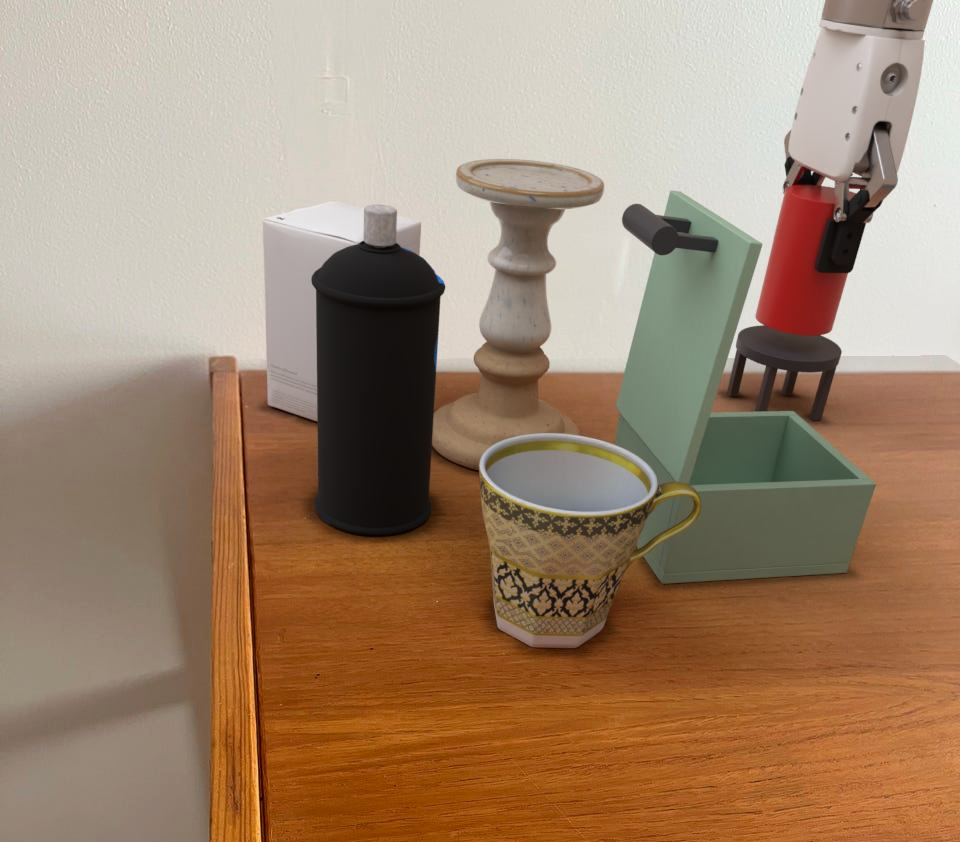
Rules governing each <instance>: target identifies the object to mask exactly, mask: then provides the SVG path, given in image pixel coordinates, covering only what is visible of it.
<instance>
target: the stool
mask: <svg viewBox="0 0 960 842" xmlns="http://www.w3.org/2000/svg"><path fill="white" fill-rule="evenodd" d="M735 349H736V351H735V354H734V355H735V356H734V359H733V364H732V368H731V372H730V376H729V380H728V381H729V383H728V385H727V389H726V395H727V396H728V397H730V398H733V397H734V398H735V397H739V392H740V389H741V384H742V380H743V376H744V372H745V368H746V363H747V359H748V360H750V361H752V362H754V363H757V364H760V365H762V366H765V367H764V371H763V375H762V379H761V383H760V387H759V392H758V397H757V400H756V403H755V404H756V405H755V408H754V412H763V411H768V408H769V405H770V401H771V398H772V393H773V390H774V385H775V382H776V377H777V375H778V370H781V371H786V373H785V376H784V380H783V381H784V382H783V385H782V389H781V394H782V395H783V396H785V397H788V396H789V397H791V396H793V393H794V389H795V386H796V383H797V379H798V374H799V373H821V375H820V378H819V381H818V385H817V390H816V393H815V397H814V400H813V403H812V407H811V410H810V414H809V418H810V419H811V420H812V421H822V419H823V415H824V411H825V408H826V405H827V401H828V397H829V394H830V391H831V387H832V384H833V380H834V378H835V373H836V371H837V367H838V366H839V364H840V360H841V356H842V352H843V351H842V348H841V347H840V346H839V344H837V343H836V342H835V341H833V340H832V339H830V338H828V337H826V336H823V335H816V336H806V335H796V334H790V333H785V332H781V331H777V330H774V329H772V328H769V327H767V326H765V325H763V324H761V325H754V326H753V325H752V326H748V327H745V328H742V329H741V330H740V331H738V334H737V337H736V343H735Z"/></svg>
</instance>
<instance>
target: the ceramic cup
mask: <svg viewBox="0 0 960 842" xmlns="http://www.w3.org/2000/svg"><path fill="white" fill-rule="evenodd" d="M478 475H479V477H478V478H479V479H478V481H479V492H480V502H481V512H482V518H483V522H484V528H485V531H486V535H487V539H488V540H487V541H488V549H489V559H490V561H489V562H490V572H491V587H492V589H491V590H492V598H493V606H494V614H495V620H496V625H497V628H498V629H499V630H500V631H502V632H504V633H506V634H507V635H509V636H511V637H512V638H515V639H517V640H518V641H520V642H522V643H523V644H525V645H528V646H530V647H531V648H548V649H549V648H551V649H552V648H553V649H554V648H555V649H577V648H578V647H580V646H581V645H583V644H584V643H586V642H587V641H589V640H590V639H592V638H593V637H595V636H596V635H598V633H600V632H601V631H602V630H603V628H604V627H605V624H606V621H607V619H608V615H609V612H610V610H611V608H612V605H613V602H614V599H615V597H616V596H617V595H616V594H617V592H618V590H619V588H620V585H621V582H622V580H623V577H624V575H625V573H626V571H627V570H628V569H629V567H630V566H631V565H632V564H634V563H635V562H636V561H637V560H638V559H641V558H642V557H643V556H644V555H646V554H648V553H649V552H650V551H651V550H653V549H654V548H655V547H656V546H657V545H659V544H660V543H662V542H663V541H665V540H667V539H669V538H671V537H672V536H674V535H676V534H678V533H680V532H682V531H683V530H685V529H686V528H688V527H689V526H690V525H691V524H692V523H693V522H694V521H695V520H696V519H697V517H698V516H699V514H700V511H701V500H700V497H699V494H698V493H697V491H696V490H695V489H694V488H693V487H691V486H690V485H688V484H685V483H680V482H668V483H664V484H661V485H659V486H658V480H657V477H656V474H655V472H654V471H653V470H652V468H651V467H650V466H649V465H648V464H647V463H646V462H645V461H644V460H642V459H641V458H640V457H638V456H637V455H635V454H633V453H632V452H630V451H628V450H626V449H624V448H621V447H619V446H617V445H614V443H611V442H608V441H605V440H601V439H598V438H594V437H589V436H584V435H580V436H578V435H572V434H561V433H536V434H526V435H521V436H516V437H512V438H508V439H505V440H503V441H500V442H498V443H496V444H494V445H492V446H491V447H489V448H488V449H487V450H486V451H485V452H484V453H483V455H482V456H481V458H480V461H479V470H478ZM677 496H689V497H691V498H693V501H694V508H693V511H692V512H691V514H690V515H689V516H688V517H687V518H686V519H685V520H683V521H682V522H680V523H679V524H677V525H675V526H673V527H671V528H669V529H667V530H666V531H664V532H662V533H660V534H659V535H657V536H655V537H654V538H653V539H651V540H650V541H649V542H648V543H647V544H646V545H644V546H643V547H641V548H640V549H638V548H637V547H636V544H637V542H638V539H639V536H640V534H641V532H642V530H643V527H644V525H645V523H646V521H647V518H648V516H649V515H650V514H651V513H652V512H653V510H654V509H655V507H656V506H657V505H658V504H660V503H662V502H663V501H665V500H668V499H671V498H674V497H677ZM636 548H637V549H636ZM643 558H644V557H643Z"/></svg>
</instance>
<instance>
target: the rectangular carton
mask: <svg viewBox="0 0 960 842" xmlns="http://www.w3.org/2000/svg"><path fill="white" fill-rule="evenodd" d="M364 208H365V207H362V206H358V205H355V204H349V203H345V202H341V201H336V200H331V201H326V202H323V203H319V204H316V205H312V206H307V207H301V208H297V209H293V210H291V211H287V212H284V213H280V214H276V215H272V216H268V217H265V218H263V219H262V243H263V245H262V247H263V278H264V305H265V306H264V311H265V313H264V314H265V315H264V316H265V348H266V349H265V350H266V353H265V354H266V382H267V385H266V386H267V388H266V389H267V406H270V407H273V408H276V409H278V410H282V411H285V412H287V413H291V414H293V415H297V416H299V417H303V418H306V419H309V420H311V421H314V422H317V337H316V289H315V288H314V286H313V285H312V281H311V278H312V275H313V274H314V272H315V271H316V270H318V269H319V268H321V267H322V265H323V264H324V262H326V261H327V260H328V259H329V258H330V257H331V256H332V255H333V254H334V253H335V252H337V251H339V250H342V249H344V248H346V247H349V246H352V245H357V244H359V243H360V242H362V241H364ZM421 235H422V221H420V220H415V219H414V218H413V219H412V218H409V217H406V216H401V215H397V227H396V243H397V244H399V245H400V246H401V247H403V248H406V249H408V250H411V251H412V252H414V253H416V254H417V255H419V256H421V254H420V253H421V252H420V251H421Z"/></svg>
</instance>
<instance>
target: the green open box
mask: <svg viewBox="0 0 960 842" xmlns="http://www.w3.org/2000/svg"><path fill="white" fill-rule="evenodd" d="M616 426H617V427H616V433H615V438H614V443H613V444H614V445H617V446H619V447H621V448H624V449H626V450H628V451H630V452H632V453H633V454H635V455H637V456H638V457H640V458H641V459H642V460H644V461H645V462H646V463H647V464H648V465H649V466H650V467H651V468H652V470H653V471H654V472H655V474H656V477H657V480H658V486H659V485H661V484H664V483H668V482H676V481H675V480H674V479H673V477H672V476H671V475H670V474H669V473H668V471H667V470H666V469H665V468H664V466H663V465H662V464H661V463H660V461H659V460H658V459H657V458H656V457H655V455H654V454H653V453H652V452H651V450H650V449H649V448H648V447H647V446H646V444H645V443H644V442H643V441H642V439H641V438H640V437H639V436H638V434H637V433H636V432H635V431H634V430H633V428H632V427H631V426H630V425H629V423H628V422H627V421H626V420H625V418H624V417H623V416H622V415H621V414H620V413H619V415H618V420H617V425H616ZM688 485H690V486H691V487H693V488H694V489H695V490H696V491H697V493H698V494H699V497H700V500H701V511H700V514H699V516H698V517H697V519H696V520H695V521H694V522H693V523H692V524H691V525H690V526H689V527H688V528H686V529H685V530H683V531H682V532H680V533H678V534H676V535H674V536H672V537H671V538H669V539H667V540H665V541H663V542H662V543H660V544H659V545H657V546H656V547H655V548H654V549H653V550H651V551H650V552H649V553H648V554H646V555H644V556H643V558H644V560H645V561H646V563H647V564H648V566H649V567H650V569H651V570H652V572H653V573H654V575H655V576H656V577H657V579H658V580H659V582H660V584H662V585H666V584H683V583H701V582H703V583H704V582H719V581H736V580H749V579H767V578H783V577H800V576H801V577H802V576H817V575H833V574H846V573H848V569H849V567H850V563H851V560H852V558H853V554H854V552H855V549H856V545H857V543H858V541H859V540H858V539H859V538H860V537H859V536H860V534H861V531H862V528H863V525H864V522H865V520H866V517H867V513H868V510H869V508H870V504H871V501H872V498H873V495H874V492H875V489H876V487H877V483H876V482H875V481H874V480H873V479H871V478H870V477H869V476H868V474H866V473H865V472H863V470H861V469H860V468H859V467H858V466H857V465H856V464H855V463H854V462H852V460H850V459H849V458H848V457H846V456H845V455H844V453H842V452H841V451H840V450H838V448H836V447H835V446H834V445H833V444H832V443H831V442H830V441H828V440H827V439H826V437H824V436H823V435H822V434H820V433H819V432H818V431H817V430H816V429H815V428H814V427H812V426H811V425H810V424H809V423H808V422H807V421H806V420H804V419H803V417H801V416H800V415H799V414H797V413H796V412H795V411H794V410H774V411H773V410H772V411H771V410H770V411H769V410H767V411H763V412H755V411H722V412H721V411H720V412H719V411H717V412H715V411H714V412H712V411H711V413H710V417H709V420H708V423H707V426H706V430H705V433H704V436H703V439H702V443H701V446H700V449H699V452H698V456H697V459H696V462H695V465H694V469H693V472H692V475H691V478H690V482H689V484H688ZM693 508H694V501H693V498H691V497H689V496H677V497H674V498H671V499H668V500H665V501H663V502H662V503H660V504H658V505H657V506H656V507H655V509H654V510H653V512H652V513H651V514H650V515H649V516H648V518H647V521H646V523H645V525H644V527H643V530H642V532H641V534H640V536H639V539H638V542H637V544H636V547H635V548H637V549H640V548H641V547H643V546H644V545H646V544H647V543H648V542H649V541H650V540H651V539H653V538H654V537H655V536H657V535H659V534H660V533H662V532H664V531H666V530H667V529H669V528H671V527H673V526H675V525H677V524H679V523H680V522H682V521H683V520H685V519H686V518H687V517H688V516H689V515H690V514H691V512H692V511H693Z"/></svg>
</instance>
